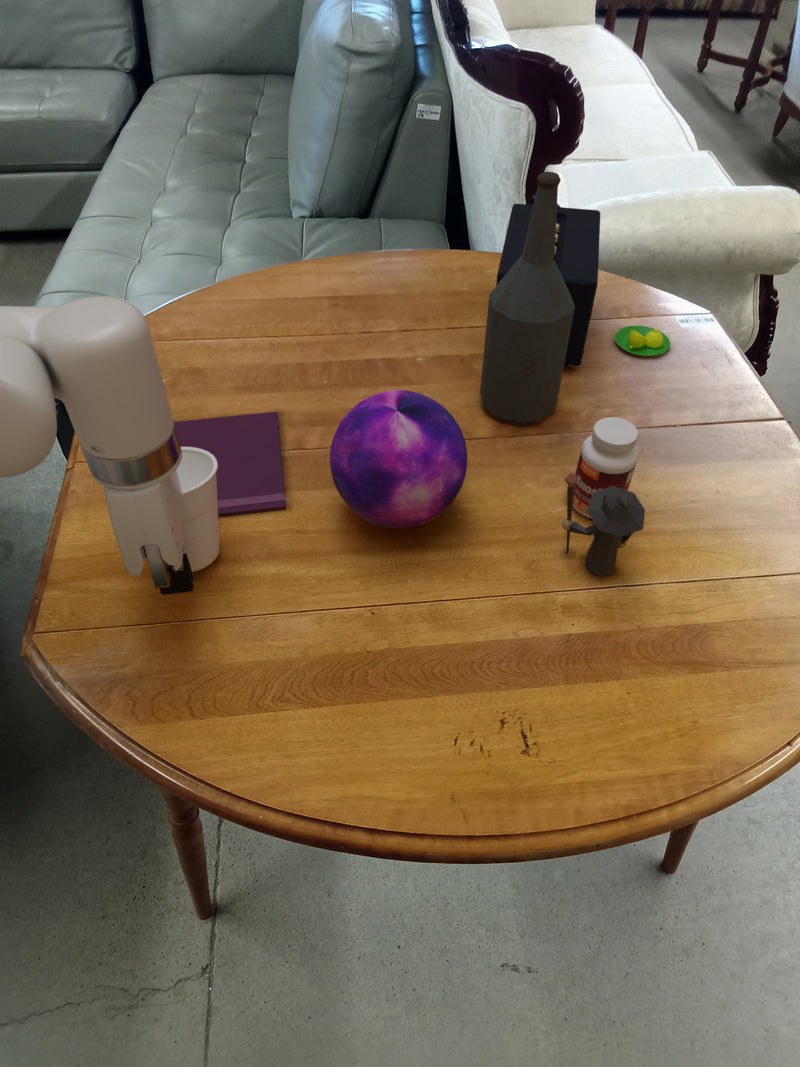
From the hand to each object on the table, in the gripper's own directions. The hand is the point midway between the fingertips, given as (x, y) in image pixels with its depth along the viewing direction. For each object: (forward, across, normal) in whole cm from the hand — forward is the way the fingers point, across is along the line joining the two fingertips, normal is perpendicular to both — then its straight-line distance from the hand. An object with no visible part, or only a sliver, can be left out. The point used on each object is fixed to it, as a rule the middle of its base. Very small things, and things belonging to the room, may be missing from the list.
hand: (178, 587), depth 76 cm
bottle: (+3, -27, +44) cm, 51 cm away
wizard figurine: (+3, +2, +43) cm, 43 cm away
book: (+3, -22, +5) cm, 22 cm away
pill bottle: (+3, -7, +47) cm, 48 cm away
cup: (+3, -6, +1) cm, 7 cm away
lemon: (+3, -38, +66) cm, 76 cm away
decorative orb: (+3, -10, +24) cm, 27 cm away
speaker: (+3, -44, +52) cm, 68 cm away
